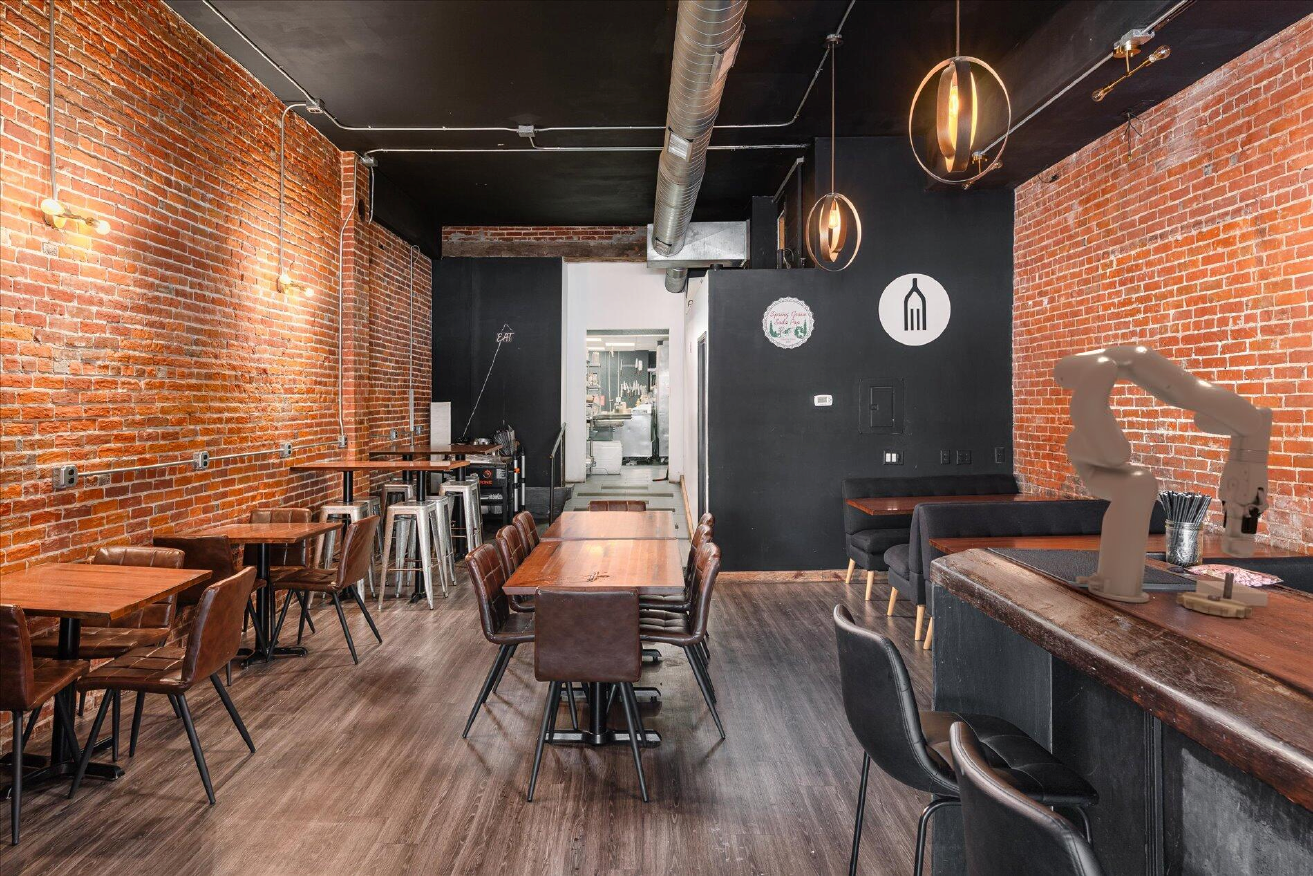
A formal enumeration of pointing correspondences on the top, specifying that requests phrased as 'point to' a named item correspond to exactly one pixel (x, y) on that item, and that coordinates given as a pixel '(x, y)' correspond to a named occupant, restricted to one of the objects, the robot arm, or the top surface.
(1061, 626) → the top surface
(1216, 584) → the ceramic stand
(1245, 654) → the top surface
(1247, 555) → the plastic bottle
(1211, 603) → the base with upright peg
